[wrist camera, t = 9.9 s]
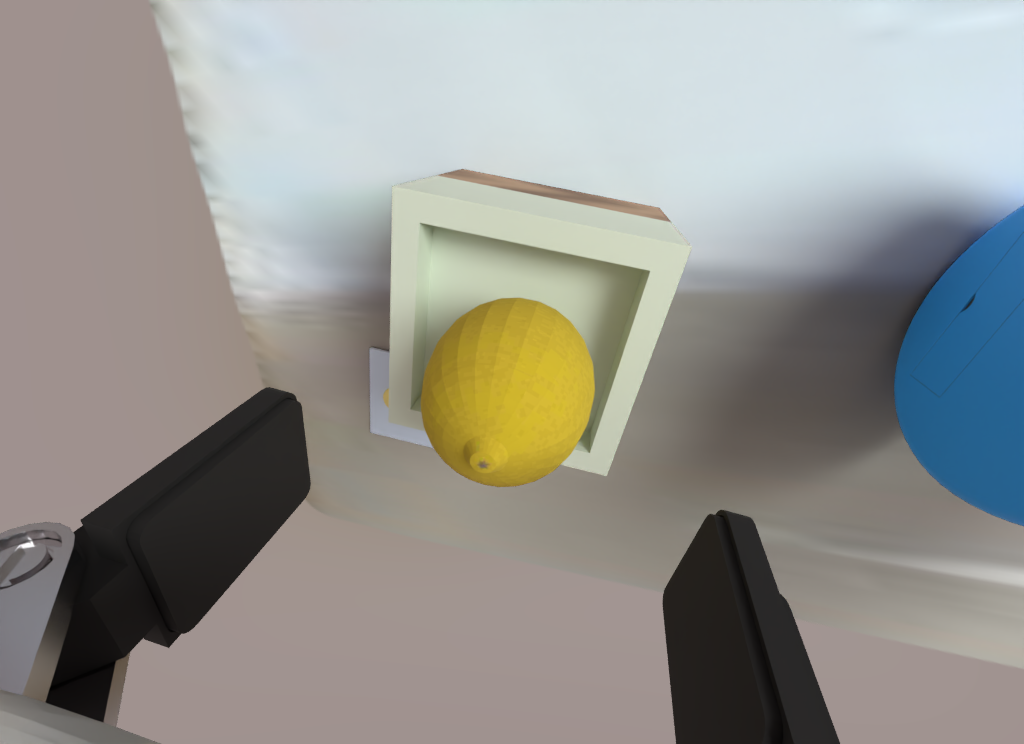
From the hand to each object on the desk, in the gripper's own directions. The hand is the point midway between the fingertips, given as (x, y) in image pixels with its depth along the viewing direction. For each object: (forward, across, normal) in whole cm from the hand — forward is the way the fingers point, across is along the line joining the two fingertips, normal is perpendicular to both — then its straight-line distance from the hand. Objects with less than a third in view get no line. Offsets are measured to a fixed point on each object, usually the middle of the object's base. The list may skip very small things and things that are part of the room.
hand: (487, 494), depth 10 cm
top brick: (+12, +1, 0) cm, 12 cm away
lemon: (+9, +1, 0) cm, 9 cm away
